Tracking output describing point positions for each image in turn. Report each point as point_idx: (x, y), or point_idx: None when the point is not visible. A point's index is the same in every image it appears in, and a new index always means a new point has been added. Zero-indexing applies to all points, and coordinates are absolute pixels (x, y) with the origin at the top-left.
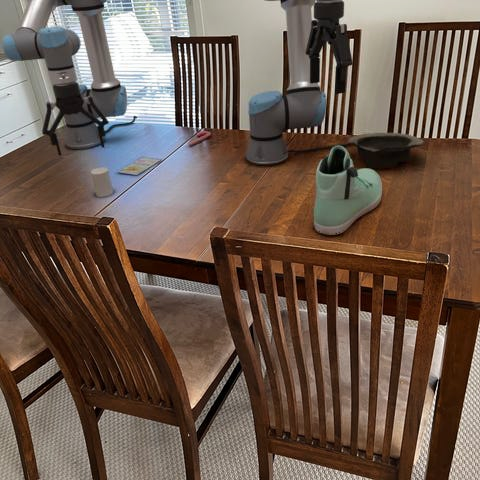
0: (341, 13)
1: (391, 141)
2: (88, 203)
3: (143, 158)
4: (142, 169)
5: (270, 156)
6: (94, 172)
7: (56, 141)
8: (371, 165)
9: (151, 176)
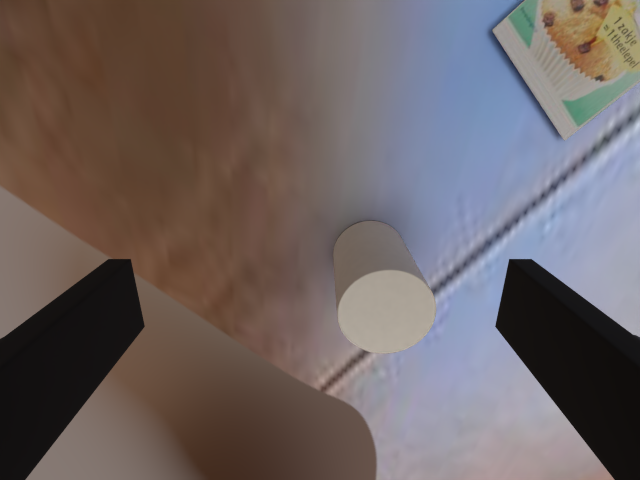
0: None
1: None
2: (294, 310)
3: None
4: (625, 71)
5: None
6: (357, 325)
7: (44, 436)
8: None
9: (614, 178)
